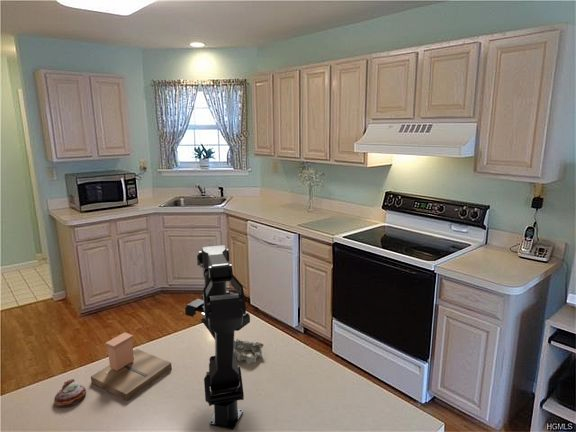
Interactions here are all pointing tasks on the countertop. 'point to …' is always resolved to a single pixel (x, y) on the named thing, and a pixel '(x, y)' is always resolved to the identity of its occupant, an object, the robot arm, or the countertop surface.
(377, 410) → the countertop surface
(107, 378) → the fader track
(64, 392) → the pastry
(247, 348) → the egg carton
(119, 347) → the handle
